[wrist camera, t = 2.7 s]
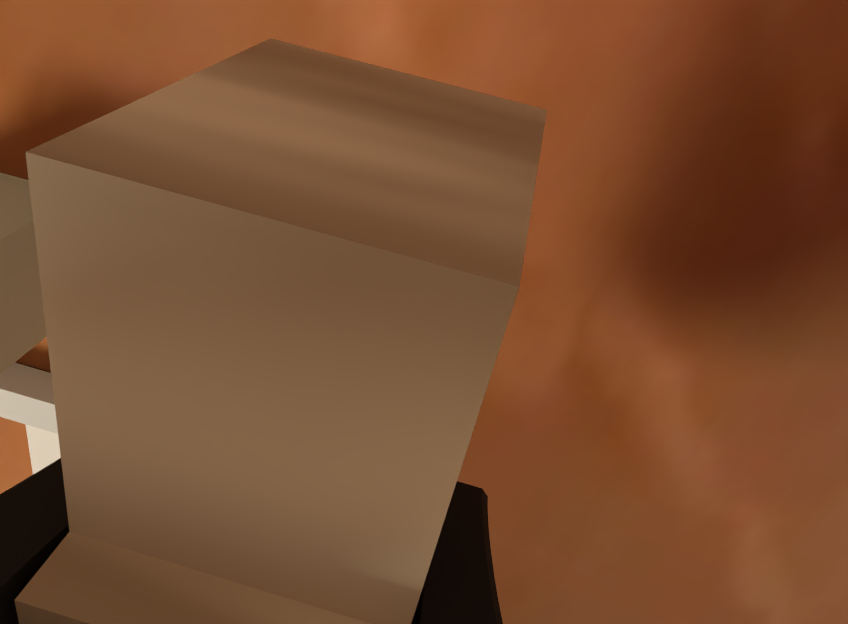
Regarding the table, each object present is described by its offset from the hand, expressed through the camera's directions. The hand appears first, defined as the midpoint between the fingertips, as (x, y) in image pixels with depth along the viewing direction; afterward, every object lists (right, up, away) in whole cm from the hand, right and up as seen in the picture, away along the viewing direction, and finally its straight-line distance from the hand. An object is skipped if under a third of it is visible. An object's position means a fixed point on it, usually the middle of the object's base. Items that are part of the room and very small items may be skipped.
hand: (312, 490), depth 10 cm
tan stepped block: (0, +1, +1) cm, 2 cm away
